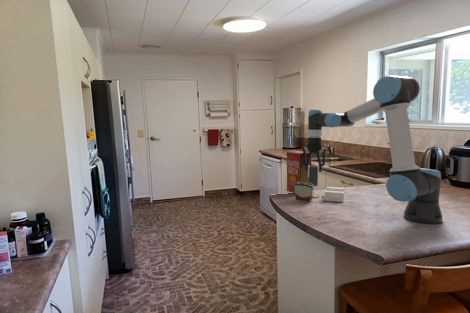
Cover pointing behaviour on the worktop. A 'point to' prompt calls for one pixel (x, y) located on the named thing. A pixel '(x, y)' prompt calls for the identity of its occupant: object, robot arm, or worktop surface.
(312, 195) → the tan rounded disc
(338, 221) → the worktop surface
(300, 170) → the food packaging
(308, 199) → the food container
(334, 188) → the socket block
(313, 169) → the dark gray rounded peg
